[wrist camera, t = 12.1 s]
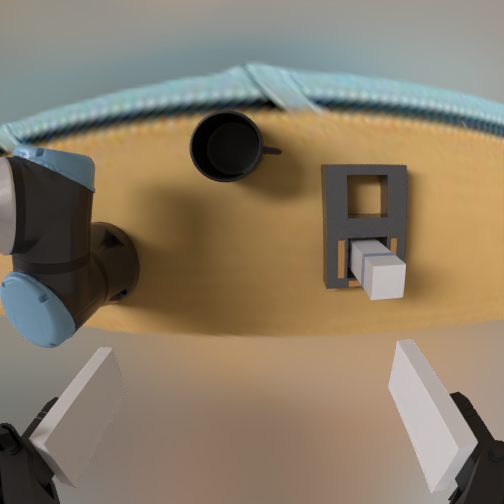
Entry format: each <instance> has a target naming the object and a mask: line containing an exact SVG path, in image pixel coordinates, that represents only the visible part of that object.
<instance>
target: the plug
mask: <svg viewBox="0 0 504 504" xmlns="http://www.w3.org/2000/svg"><path fill="white" fill-rule="evenodd" d="M348 266H349V268H350V269H351V271H352V272H353V274H354V275H355V276H356V278H357V279H358V281H359V282H360V284H361V286H362V288H363V289H364V290H365V292H366V293H367V295H368V296H369V298H370V299H371V300H379V299H390V298H401V297H403V292H404V282H405V272H406V264H405V263H404V262H403V261H402V260H400V259H399V258H398V257H397V256H396V255H395V254H394V253H393V252H391V251H390V250H389V249H387V248H386V247H385V246H384V245H382V244H381V243H380V242H379V241H378V240H376V239H375V238H355V239H348Z"/></svg>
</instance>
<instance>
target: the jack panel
mask: <svg viewBox="0 0 504 504" xmlns="http://www.w3.org/2000/svg"><path fill="white" fill-rule="evenodd" d="M321 174H322V200H323V251H324V276H323V281H324V283H325V286H326V288H327V289H331V288H347V287H362V286H361V284H360V282H359V281H358V279H357V278H356V276H355V275H354V274H353V272H352V271H347V259H348V238H365V237H380V243H381V244H382V245H384V246H385V247H386V248H387V249H389V250H390V251H391V252H393V253H394V254H395V255H396V256H397V257H398V258H399V259H400V260H402V261H403V262H404V258H405V243H406V219H407V165H386V164H331V165H321ZM347 175H380V179H381V214H348V199H347Z"/></svg>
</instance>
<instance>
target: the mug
mask: <svg viewBox="0 0 504 504" xmlns="http://www.w3.org/2000/svg"><path fill="white" fill-rule="evenodd" d="M281 153H282V151H281V149H277V148H270V147H265V146H264V141H263V138H262V136H261V134H260V131H259V129H258V127H257V126H256V125H255V123H254V122H253V121H252V120H251V119H250V118H248V117H247V116H245V115H243V114H241V113H239V112H235V111H218V112H215V113H212V114H210V115H208V116H207V117H205V118H204V119H203V120H201V121H200V122H199V123H198V125H197V126H196V128H195V129H194V131H193V133H192V136H191V139H190V155H191V158H192V161H193V163H194V165H195V166H196V168H197V169H198V170H199V171H200V172H201V173H202V174H203V175H204V176H206V177H207V178H209V179H211V180H214V181H218V182H233V181H237V180H240V179H242V178H244V177H246V176H247V175H249V174H251V173H252V172H253V171H254V170H255V169H257V167H258V166H259V164H260V163H261V161H262V158H263V155H264V154H276V155H279V154H281Z"/></svg>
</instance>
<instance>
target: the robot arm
mask: <svg viewBox="0 0 504 504" xmlns="http://www.w3.org/2000/svg"><path fill="white" fill-rule="evenodd" d="M94 179H95V165H94V162H93V161H92V159H91V158H89V157H88V156H85V155H80V154H75V153H69V152H64V151H58V150H51V149H44V148H38V147H32V146H24V145H17V146H16V147H15V150H14V151H13V157H3V158H0V253H1V254H3V255H12V261H13V272H10V273H8V274H7V275H6V277H5V278H4V281H3V282H2V283H1V287H0V297H1V302H2V305H3V308H4V311H5V313H6V315H7V317H8V319H9V320H10V321H11V323H12V325H13V326H14V327H15V328H16V329H17V330H18V332H19V333H20V334H21V335H22V336H23V337H25V338H26V339H27V340H29V341H30V342H32V343H33V344H35V345H38V346H41V347H45V348H53V347H57V346H59V345H60V344H61V343H63V342H64V341H65V340H66V339H69V338H70V337H72V336H73V335H74V333H75V332H76V331H77V330H78V329H79V328H80V327H81V326H82V325H83V324H84V323H85V322H86V321H87V320H88V319H89V318H90V317H91V316H92V315H93V314H94V313H95V312H96V311H97V310H98V309H99V308H100V307H103V306H107V305H111V304H115V303H117V302H119V301H121V300H123V299H124V298H125V297H126V296H127V295H128V294H129V293H130V292H131V291H132V290H133V289H134V287H135V285H136V283H137V280H138V276H139V260H138V256H137V253H136V250H135V248H134V246H133V244H132V242H131V241H130V239H129V238H128V237H127V236H126V235H125V234H124V233H123V232H122V231H121V230H120V229H118V228H117V227H115V226H113V225H111V224H109V223H105V222H93V223H91V219H92V204H93V193H95V188H94ZM388 388H389V390H390V393H391V395H392V397H393V399H394V402H395V404H396V406H397V408H398V411H399V413H400V416H401V418H402V420H403V423H404V425H405V427H406V430H407V432H408V435H409V437H410V439H411V442H412V444H413V447H414V449H415V452H416V454H417V457H418V459H419V462H420V464H421V467H422V470H423V472H424V475H425V478H426V480H427V483H428V486H429V488H430V491H431V493H434V492H437V491H441V490H444V489H446V488H449V487H450V485H451V484H452V483H453V481H454V480H456V482H457V485H458V487H457V488H456V490H455V491H454V492H453V494H452V495H451V496H450V498H449V499H448V500H451V501H450V503H449V504H504V442H503V441H498V440H494V438H493V437H492V435H491V433H490V432H489V430H488V429H487V427H486V426H485V424H484V422H483V421H482V419H481V418H480V416H479V415H478V413H477V412H476V410H475V409H473V406H472V404H471V403H470V401H469V400H468V398H467V397H465V396H464V395H462V394H461V393H460V392H456V393H452V394H448V392H447V390H446V389H445V387H444V385H443V384H442V382H441V381H440V379H439V378H438V376H437V375H436V373H435V372H434V370H433V369H432V367H431V366H430V364H429V363H428V361H427V360H426V358H425V357H424V355H423V354H422V353H421V351H420V350H419V348H418V347H417V345H416V344H415V342H414V341H413V339H406V340H399V341H397V344H396V351H395V356H394V361H393V366H392V372H391V376H390V380H389V386H388ZM127 392H128V391H127V388H126V386H125V383H124V380H123V377H122V374H121V371H120V368H119V365H118V362H117V359H116V356H115V352H114V349H113V348H106V347H100V348H99V349H98V350H97V351H96V353H95V354H94V355H93V357H91V359H90V360H89V361H88V362H87V364H86V365H85V366H84V368H83V369H82V370H81V371H80V372H79V374H78V375H77V376H76V377H75V379H74V380H73V381H72V382H71V384H70V385H69V387H68V388H67V389H66V390H65V391H64V393H63V394H62V395H61V397H60V398H57V397H55V398H54V399H52V400H51V401H49V402H48V403H47V404H46V405H45V406H44V408H43V409H42V410H41V412H40V413H39V414H38V415H37V418H35V419H34V420H33V422H32V423H31V424H30V426H29V427H28V428H27V430H26V431H25V432H24V433H23V435H22V436H21V437H20V436H19V434H18V433H17V431H16V429H15V428H14V427H13V426H12V425H11V424H8V423H2V424H0V504H60V501H59V498H58V495H57V491H56V488H55V485H54V482H53V481H52V477H53V476H54V474H55V476H56V477H57V478H58V479H59V481H60V482H61V483H64V484H67V485H70V486H72V487H76V486H77V484H78V482H79V480H80V478H81V476H82V474H83V472H84V470H85V468H86V467H87V465H88V463H89V461H90V459H91V457H92V455H93V453H94V452H95V450H96V448H97V446H98V444H99V442H100V440H101V439H102V437H103V435H104V433H105V431H106V429H107V427H108V426H109V424H110V422H111V420H112V419H113V417H114V415H115V413H116V411H117V410H118V408H119V406H120V404H121V402H122V401H123V399H124V397H125V395H126V394H127Z"/></svg>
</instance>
